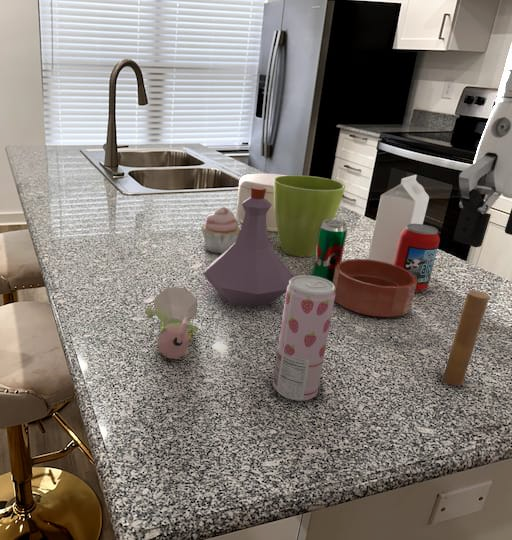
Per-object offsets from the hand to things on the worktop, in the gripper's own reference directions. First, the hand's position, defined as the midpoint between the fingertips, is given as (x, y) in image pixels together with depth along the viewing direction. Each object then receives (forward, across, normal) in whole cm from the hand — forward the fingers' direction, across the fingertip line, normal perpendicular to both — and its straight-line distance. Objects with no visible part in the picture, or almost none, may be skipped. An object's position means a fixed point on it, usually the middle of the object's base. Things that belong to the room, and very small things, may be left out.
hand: (493, 239), depth 62 cm
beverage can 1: (+21, -21, +7) cm, 30 cm away
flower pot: (+20, +15, +49) cm, 55 cm away
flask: (+21, -10, +33) cm, 40 cm away
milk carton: (+20, +30, +36) cm, 51 cm away
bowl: (+20, +9, +23) cm, 32 cm away
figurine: (+21, -31, +24) cm, 44 cm away
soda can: (+20, +8, +34) cm, 40 cm away
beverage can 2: (+20, +22, +26) cm, 39 cm away
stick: (+20, +1, 0) cm, 20 cm away
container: (+20, +23, +70) cm, 77 cm away
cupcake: (+20, -1, +56) cm, 60 cm away
